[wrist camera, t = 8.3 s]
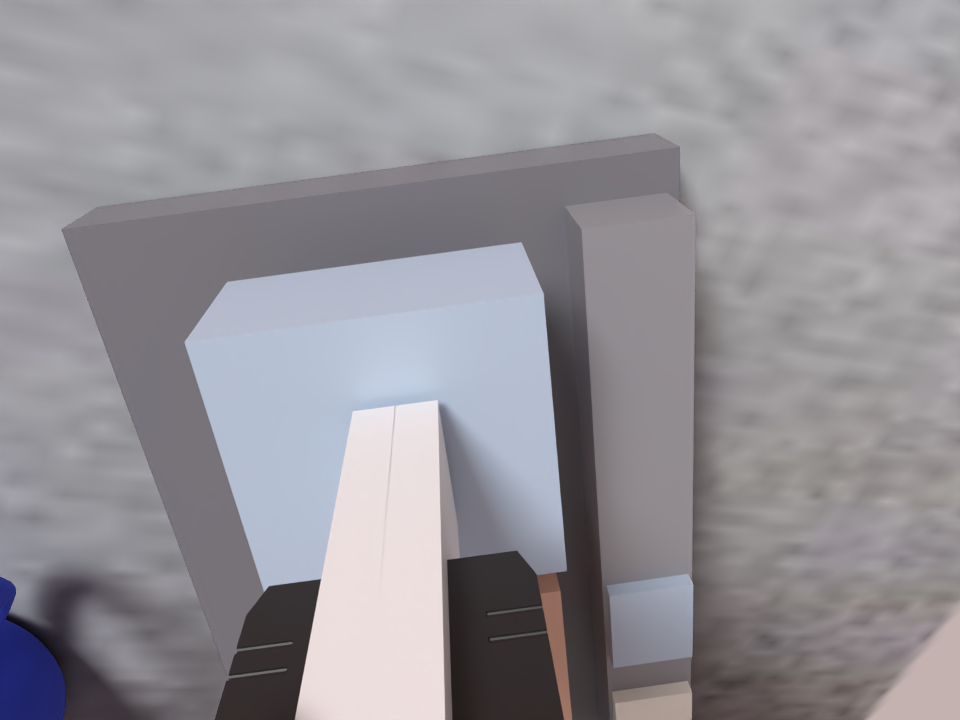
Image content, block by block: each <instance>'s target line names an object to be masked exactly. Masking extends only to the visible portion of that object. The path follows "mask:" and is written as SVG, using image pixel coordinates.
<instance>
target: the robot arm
mask: <svg viewBox="0 0 960 720" xmlns="http://www.w3.org/2000/svg"><path fill="white" fill-rule="evenodd" d="M215 720H564V716H563V711H562V705H561V700H560V695H559V690H558V684H557V679H556V674H555V669H554V663H553V658H552V653H551V648H550V642H549V637H548V633H547V626H546V621H545V616H544V611H543V606H542V600H541V595H540V590H539V584H538V579H537V574H536V573H535V571H534V570H533V569H532V568H531V567H530V565H529V564H528V563H527V562H526V561H525V559H524V558H523V557H522V556H521V555H520V553H519V552H518V551H509V552H502V553H494V554H487V555H479V556H472V557H464V558H460V553H459V535H458V522H457V516H456V510H455V503H454V497H453V491H452V485H451V479H450V472H449V466H448V460H447V454H446V448H445V441H444V435H443V429H442V423H441V417H440V410H439V404H438V400H434V401H427V402H419V403H412V404H404V405H397V406H389V407H382V408H374V409H367V410H359V411H353V412H352V418H351V423H350V428H349V434H348V439H347V444H346V450H345V455H344V460H343V466H342V471H341V476H340V482H339V487H338V492H337V498H336V503H335V508H334V514H333V519H332V524H331V530H330V535H329V540H328V546H327V551H326V556H325V562H324V567H323V572H322V578H321V579H318V580H310V581H303V582H295V583H288V584H280V585H273V586H269V587H268V588H267V589H266V590H265V592H264V593H263V594H262V596H261V597H260V598H259V599H258V601H257V602H256V603H255V605H254V606H253V607H252V608H251V610H250V611H249V612H248V614H247V615H246V617H245V621H244V624H243V627H242V631H241V634H240V637H239V641H238V644H237V654H234V658H233V661H232V664H231V668H230V671H229V681H226V684H225V688H224V691H223V694H222V698H221V701H220V704H219V708H218V711H217V714H216V718H215Z"/></svg>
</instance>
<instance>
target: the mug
mask: <svg viewBox="0 0 960 720" xmlns="http://www.w3.org/2000/svg"><path fill="white" fill-rule="evenodd" d="M15 595H16V588H15V586H14V585H13V584H12V582H10V581H8V580H6V579H4V578H2V577H0V720H63V719H64V714H65V707H66V689H65V682H64V678H63V675H62V672H61V669H60V667H59V665H58V663H57V662H56V660H55V658H54V657H53V655H52V654H51V653H50V652H49V650H48V649H47V648H46V647H45V646H44V645H43V644H42V643H41V642H40V641H39V640H38V639H37V638H36V637H35V636H33V635H32V634H31V633H29V632H28V631H26V630H25V629H23V628H21V627H20V626H18V625H16V624H14V623H12V622H10V621H8V620H6V617H7V614H8V612H9V610H10V608H11V606H12V603H13V601H14V598H15Z"/></svg>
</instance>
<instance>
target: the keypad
mask: <svg viewBox="0 0 960 720" xmlns="http://www.w3.org/2000/svg"><path fill="white" fill-rule="evenodd" d="M61 230H62V232H63V235H64V238H65V240H66V243H67V246H68V248H69V251H70V254H71V256H72V259H73V262H74V265H75V267H76V270H77V273H78V275H79V278H80V281H81V283H82V286H83V289H84V291H85V294H86V297H87V300H88V302H89V305H90V308H91V310H92V313H93V316H94V318H95V321H96V324H97V326H98V329H99V332H100V335H101V337H102V340H103V343H104V345H105V348H106V351H107V353H108V356H109V359H110V361H111V364H112V367H113V370H114V372H115V375H116V378H117V380H118V383H119V386H120V388H121V391H122V394H123V396H124V399H125V402H126V405H127V407H128V410H129V413H130V415H131V418H132V421H133V423H134V426H135V429H136V431H137V434H138V437H139V440H140V442H141V445H142V448H143V450H144V453H145V456H146V458H147V461H148V464H149V466H150V469H151V472H152V475H153V477H154V480H155V483H156V485H157V488H158V491H159V493H160V496H161V499H162V501H163V504H164V507H165V510H166V512H167V515H168V518H169V520H170V523H171V526H172V528H173V531H174V534H175V536H176V539H177V542H178V545H179V547H180V550H181V553H182V555H183V558H184V561H185V563H186V566H187V569H188V571H189V574H190V577H191V580H192V582H193V585H194V588H195V590H196V593H197V596H198V598H199V601H200V604H201V606H202V609H203V612H204V614H205V617H206V620H207V623H208V625H209V628H210V631H211V633H212V636H213V639H214V641H215V644H216V647H217V649H218V652H219V655H220V658H221V660H222V663H223V666H224V668H225V671H226V674H227V676H228V679H229V671H230V668H231V664H232V661H233V658H234V654H237V644H238V641H239V637H240V634H241V631H242V627H243V624H244V621H245V617H246V615H247V614H248V612H249V611H250V610H251V608H252V607H253V606H254V605H255V603H256V602H257V601H258V599H259V598H260V597H261V596H262V594H263V593H264V590H263V587H262V584H261V581H260V577H259V574H258V571H257V568H256V565H255V562H254V559H253V556H252V552H251V549H250V546H249V543H248V540H247V537H246V534H245V530H244V527H243V524H242V521H241V518H240V515H239V512H238V508H237V505H236V502H235V499H234V496H233V493H232V490H231V487H230V483H229V480H228V477H227V474H226V471H225V468H224V465H223V461H222V458H221V455H220V452H219V449H218V446H217V443H216V440H215V436H214V433H213V430H212V427H211V424H210V421H209V418H208V414H207V411H206V408H205V405H204V402H203V399H202V396H201V393H200V389H199V386H198V383H197V380H196V377H195V374H194V371H193V367H192V364H191V361H190V358H189V355H188V352H187V349H186V346H185V341H186V339H187V338H188V336H189V335H190V334H191V332H192V331H193V329H194V328H195V327H196V325H197V324H198V322H199V321H200V319H201V318H202V317H203V315H204V314H205V312H206V311H207V310H208V308H209V307H210V305H211V304H212V303H213V301H214V300H215V298H216V297H217V295H218V294H219V293H220V291H221V290H222V288H223V287H224V286H225V284H226V283H227V282H230V281H237V280H245V279H252V278H260V277H267V276H274V275H282V274H289V273H297V272H304V271H311V270H319V269H326V268H334V267H341V266H349V265H356V264H363V263H371V262H378V261H386V260H393V259H401V258H408V257H415V256H423V255H430V254H438V253H445V252H453V251H460V250H467V249H475V248H482V247H490V246H497V245H505V244H512V243H519V242H522V245H523V247H524V249H525V252H526V254H527V256H528V259H529V261H530V263H531V266H532V268H533V270H534V272H535V275H536V277H537V279H538V282H539V284H540V286H541V289H542V291H543V293H544V305H545V316H546V328H547V340H548V352H549V364H550V376H551V388H552V399H553V411H554V423H555V435H556V447H557V459H558V471H559V482H560V494H561V506H562V518H563V530H564V542H565V554H566V565H567V571H564V572H557V573H556V574H557V579H558V583H559V587H560V591H561V602H562V613H563V624H564V635H565V646H566V657H567V669H568V680H569V691H570V702H571V713H572V720H692V691H691V657H693V583H692V534H693V440H694V345H695V251H696V214H695V213H694V212H692V211H691V210H690V209H688V208H687V207H686V206H684V205H683V204H682V203H680V147H679V146H677V145H675V144H673V143H671V142H670V141H668V140H666V139H664V138H662V137H660V136H658V135H656V134H647V135H640V136H632V137H625V138H617V139H610V140H602V141H595V142H587V143H580V144H572V145H565V146H557V147H550V148H542V149H534V150H527V151H519V152H512V153H504V154H497V155H489V156H482V157H474V158H467V159H459V160H452V161H444V162H437V163H429V164H422V165H414V166H406V167H399V168H391V169H384V170H376V171H369V172H361V173H354V174H346V175H339V176H331V177H324V178H316V179H309V180H301V181H293V182H286V183H278V184H271V185H263V186H256V187H248V188H241V189H233V190H226V191H218V192H211V193H203V194H196V195H188V196H181V197H173V198H165V199H158V200H150V201H143V202H135V203H128V204H120V205H113V206H105V207H98V208H95V209H94V210H92V211H90V212H89V213H87V214H85V215H84V216H82V217H81V218H79V219H77V220H76V221H74V222H72V223H71V224H69V225H68V226H66V227H64V228H63V229H61Z"/></svg>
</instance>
